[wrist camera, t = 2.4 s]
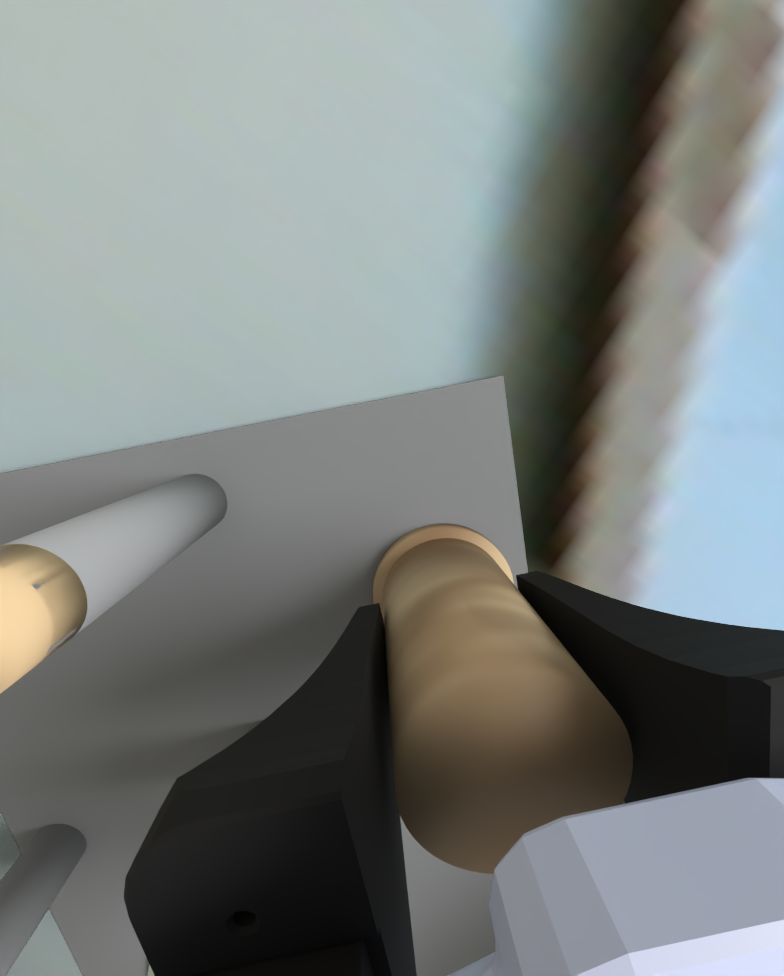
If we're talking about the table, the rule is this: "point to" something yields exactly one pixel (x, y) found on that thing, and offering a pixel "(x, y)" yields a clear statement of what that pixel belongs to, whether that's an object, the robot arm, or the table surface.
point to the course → (211, 633)
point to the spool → (486, 704)
